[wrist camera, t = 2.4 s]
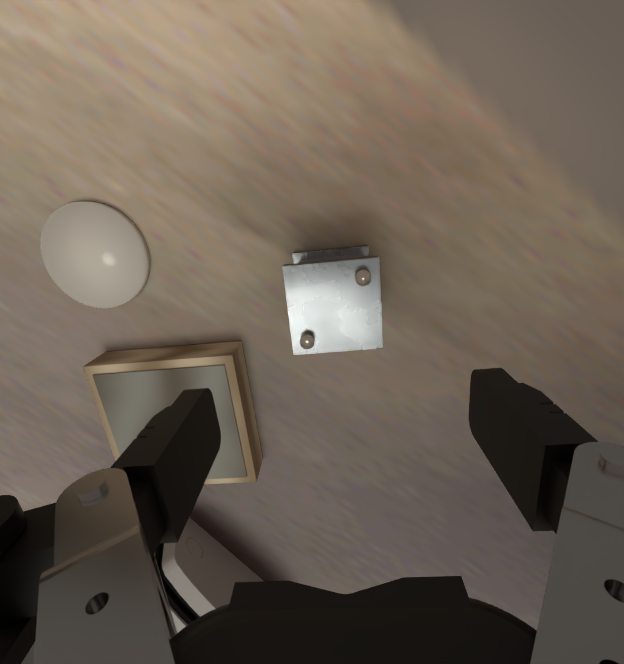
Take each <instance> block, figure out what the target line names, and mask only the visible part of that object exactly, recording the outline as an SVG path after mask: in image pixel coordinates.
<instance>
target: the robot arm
mask: <svg viewBox="0 0 624 664" xmlns="http://www.w3.org/2000/svg"><path fill="white" fill-rule="evenodd" d="M469 424H470V428H471V432H472V434H473V436H474V438H475V440H476V441H477V443H478V444H479V446H480V448H481V449H482V451H483V452H484V454H485V456H486V457H487V459H488V460H489V462H490V464H491V465H492V467H493V468H494V470H495V471H496V473H497V475H498V476H499V478H500V479H501V481H502V483H503V484H504V486H505V487H506V489H507V491H508V492H509V494H510V495H511V497H512V499H513V500H514V502H515V503H516V505H517V507H518V508H519V510H520V511H521V513H522V514H523V516H524V518H525V519H526V521H527V522H528V524H529V526H530V527H531V529H532V530H533V531H554V532H555V533H556V534H557V535H556V540H555V545H554V550H553V555H552V560H551V565H550V569H549V574H548V579H547V584H546V589H545V594H544V599H543V604H542V609H541V613H540V618H539V623H538V628H537V631H536V630H535V629H534V628H532V627H531V626H529V625H528V624H527V623H525V622H523V621H522V620H520V619H518V618H517V617H515V616H513V615H512V614H510V613H508V612H506V611H504V610H502V609H499V608H497V607H495V606H493V605H490V604H488V603H485V602H482V601H479V600H476V599H472V598H469V597H468V594H467V591H466V589H465V586H464V583H463V580H462V577H461V576H444V577H407V578H400V579H397V580H394V581H391V582H387V583H384V584H381V585H378V586H374V587H371V588H368V589H365V590H361V591H358V592H355V593H351V594H339V593H335V592H331V591H327V590H323V589H319V588H315V587H311V586H307V585H303V584H299V583H295V582H291V581H261V582H235V584H234V588H233V592H232V596H231V600H230V603H229V604H226V605H223V606H221V607H218V608H216V609H214V610H212V611H209V612H208V613H206V614H204V615H202V616H201V617H199V618H197V619H196V620H194V621H193V622H191V623H190V624H189V625H187V626H186V627H184V628H183V629H182V630H181V631H179V632H178V633H177V630H176V626H175V623H174V620H173V616H172V613H171V609H170V606H169V602H168V599H167V596H166V592H165V589H164V585H163V582H162V578H161V575H160V571H159V568H158V564H157V561H156V558H155V555H154V553H155V551H156V549H157V547H158V545H159V543H178V541H179V539H180V536H181V534H182V532H183V530H184V527H185V525H186V523H187V521H188V519H189V516H190V514H191V512H192V510H193V507H194V505H195V503H196V501H197V498H198V496H199V494H200V492H201V490H202V487H203V485H204V483H205V481H206V478H207V476H208V474H209V472H210V469H211V467H212V465H213V463H214V461H215V458H216V456H217V454H218V452H219V449H220V444H221V430H220V426H219V421H218V417H217V412H216V408H215V403H214V399H213V395H212V392H211V390H210V389H209V388H200V389H186V390H183V391H182V393H181V394H180V395H179V396H178V398H177V399H176V400H175V401H174V403H173V404H172V405H171V406H167V407H166V408H164V409H163V410H162V411H160V412H159V413H157V414H156V415H154V416H153V417H152V418H151V420H150V421H149V422H148V423H147V424H146V426H145V427H144V429H142V430H141V432H140V433H139V434H138V435H137V438H136V439H134V440H133V441H132V442H131V444H130V445H129V446H128V447H127V448H126V450H125V451H124V452H123V453H122V454H121V456H120V457H119V458H118V459H117V460H116V462H115V463H114V464H113V465H112V466H111V468H107V469H102V470H98V471H95V472H92V473H90V474H88V475H85V476H84V477H82V478H80V479H78V480H77V481H75V482H74V483H72V484H71V485H70V486H68V487H67V488H66V489H65V490H64V491H63V492H62V494H61V495H60V496H59V498H58V499H57V502H56V503H53V504H49V505H46V506H42V507H38V508H35V509H31V510H28V511H24V512H23V510H22V508H21V506H20V504H19V502H18V500H17V499H16V498H15V497H14V496H11V495H1V496H0V664H21V663H22V661H23V660H24V658H25V656H26V655H27V653H28V652H29V650H30V648H31V647H32V645H33V644H34V642H35V656H34V664H624V447H623V446H620V445H616V444H612V443H605V442H598V441H597V440H596V439H595V438H594V437H592V436H591V435H590V434H589V433H588V432H587V431H586V430H584V429H583V428H582V427H581V426H580V425H579V424H578V423H576V422H575V421H574V420H573V419H572V418H571V417H570V416H568V415H567V414H564V412H563V410H562V409H560V408H559V407H558V406H557V405H556V404H553V402H552V401H551V400H550V399H549V398H548V397H547V396H546V395H544V394H543V393H542V392H541V391H539V390H537V389H535V388H533V387H531V386H528V385H526V384H524V383H518V382H517V381H515V380H514V379H513V378H512V377H511V376H510V375H509V374H508V373H507V372H506V371H505V370H504V369H502V368H491V369H477V370H473V372H472V374H471V383H470V402H469Z"/></svg>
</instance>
